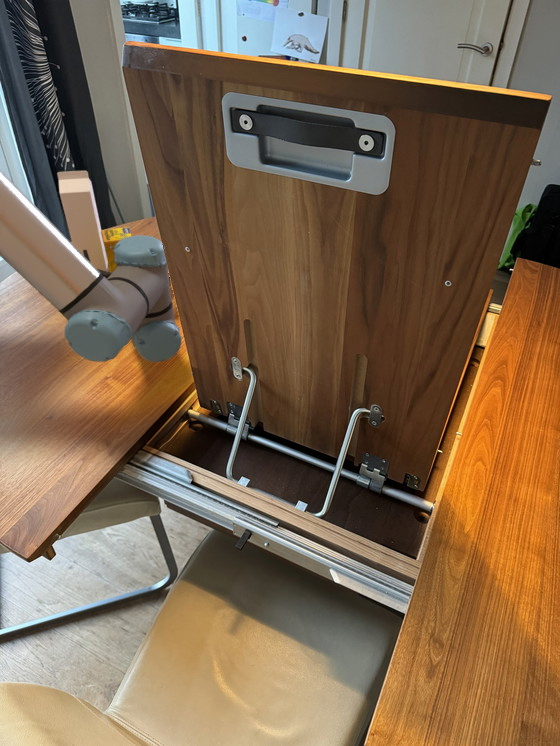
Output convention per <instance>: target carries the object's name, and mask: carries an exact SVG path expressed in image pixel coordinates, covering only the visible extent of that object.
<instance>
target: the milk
mask: <svg viewBox="0 0 560 746" xmlns="http://www.w3.org/2000/svg"><path fill="white" fill-rule="evenodd" d="M56 175H57V179H58V190H59V191H58V193H59V196H60V197H59V198H60V200H61V204H62V208H63V212H64V215H65V216H64V217H65V220H66V224H67V228H68V233H69V236H70V241H71V243H72V244H73V245H74V246H75V247H76V248H77V249H78V250H79V251H80V252H81V253H82V254H83V255H84V253H83V250H87V252H88V256H89V259H90V262H91V264H92V265H93V266H94V267H95V268H96V269H100V270H103V271H106V272H109V266H108V261H107V257H106V252H105V247H104V243H103V239H102V234H101V231H102V227H101V221H100V217H99V212H98V208H97V203H96V197H95V193H94V188H93V184H92V180H91V179H90V178H89V172H88V171H87V170H72V171H58V172H57V173H56Z"/></svg>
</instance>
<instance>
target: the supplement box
mask: <svg viewBox="0 0 560 746" xmlns="http://www.w3.org/2000/svg"><path fill="white" fill-rule="evenodd" d="M101 234H102V239H103V243H104V247H105V252H106V257H107V261H108V272H109V271H110V273H111V272H114V271H115V269H116V267H117V266H116V263H115V260H114V259H115V255H114V248H115V245H116V244H117V243H118V242H119V241H120V240H122V239H124V238H127V237H130V236H133V235H132V232H131V228H130V227H129V226H124V227H123V226H122V227H117V228H110V229H108V228H107V229H101Z"/></svg>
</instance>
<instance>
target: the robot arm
mask: <svg viewBox="0 0 560 746" xmlns="http://www.w3.org/2000/svg"><path fill="white" fill-rule="evenodd" d="M162 244H163V242H162V241H161V240H160V239H158V238H156V237H154V236H151V235H145V234H140V235H139V234H138V235H137V234H136V235H132V236H130V237H127V238H124V239H122V240H120V241H119V242H118V243H117V244H116V245H115V248H114V255H115V259H114V260H115V263H116V266H117V267H116V269H115V271H114V272H111V273H110V272H109V271H108V272H106V271H103V270H100V269H96V268H95V267H94V266H93V265H92V264H91V262H90V259H89V256H88V252H87V250H83V253H84V255H83V254H82V253H81V252H80V251H79V250H78V249H77V248H76V247H75V246H74V245H73V244H72V241H71V240H69V239H68V238H67V236H65V235H64V233H62V232H61V230H60V229H58V227H56V226H55V224H54V223H53V222H52V221H51V220H50V219H49V218H48V217H47V216H46V215H45V214H44V213H43V212H42V211H41V210H40V209H39V208H38V207H37V206H36V205H35V204H34V202H32V201H31V199H29V198H28V196H27V195H26V194H24V192H23V191H22V190H21V189H20V188H19V187H18V186H17V185H16V184H15V183H14V182H13V181H12V180H11V179H10V178H9V177H8V176H7V175H6V174H5V172H4V171H2V170H1V169H0V257H1V258H2V260H4V261H5V262H6V263H7V264H8V265H9V266H10V267H11V268H12V269H13V270H14V271H15V272H16V273H17V274H19V276H21V277H22V278H23V279H24V280H25V281H26V282H28V283H29V284H30V286H31V287H33V288H34V289H35V290H36V291H37V292H38V293H39V294H40V295H41V296H43V298H45V299H46V301H48V302H49V303H50V305H52V306H53V307H54V308H55V309H56V310H57V311H58V312H59V313H60V314H61V315H62V316H63V317H64V318H65V319H66V320H67V323H66V324H65V327H64V336H65V340H67V342H68V344H69V347H70V349H71V350H72V351H73V352H74V353H75V354H76V355H78V356H79V357H81V358H83V359H85V360H86V361H87V360H88V361H90V362H96V363H104V362H108V361H111V360H114V359H115V358H116V357H117V356H118V355H119V353H120V352H121V351H122V350H123V349H124V347H126V346H127V345H128V344H129V343H130V341H131V340H132V344H133V347H134V348H135V350H136V351H137V353H138V355H139V356H140V358H142V359H144V360H145V361H147V362H150V363H163V362H166V361H169V360H171V359H172V358H173V357H175V356H176V355H177V353H178V352H179V351H180V348H181V347H182V342H183V341H182V336H181V333H180V327H179V326H178V325H177V324H176V319H175V312H174V304H173V299H172V294H171V293H172V292H171V291H172V290H171V286H172V283H171V280H170V277H169V273H168V266H167V262H166V257H165V254H164V249H165V248H164V249H163V245H164V244H163V245H162Z"/></svg>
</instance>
